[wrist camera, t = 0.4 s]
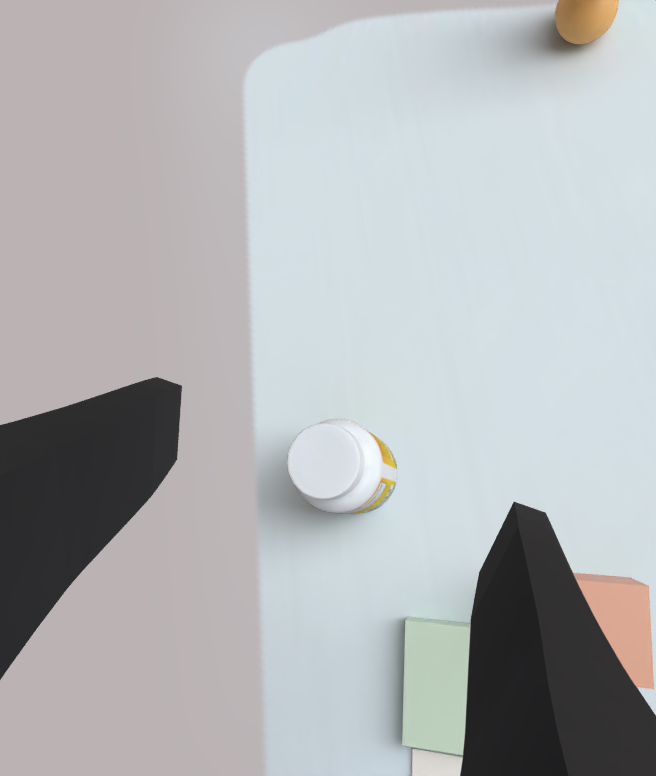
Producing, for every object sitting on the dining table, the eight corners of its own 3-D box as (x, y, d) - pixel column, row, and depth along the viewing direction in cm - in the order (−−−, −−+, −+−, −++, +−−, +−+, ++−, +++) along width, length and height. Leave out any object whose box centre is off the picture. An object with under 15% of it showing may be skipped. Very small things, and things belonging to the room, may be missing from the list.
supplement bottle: (394, 517, 38) (366, 520, 29) (317, 507, 39) (267, 507, 30) (402, 436, 39) (377, 415, 29) (326, 429, 40) (281, 407, 31)
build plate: (525, 757, 33) (526, 766, 32) (404, 737, 35) (402, 745, 34) (523, 629, 34) (525, 633, 33) (407, 616, 36) (405, 620, 35)
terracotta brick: (634, 668, 33) (653, 689, 29) (541, 657, 34) (548, 675, 30) (629, 577, 34) (648, 586, 30) (540, 569, 35) (547, 577, 31)
